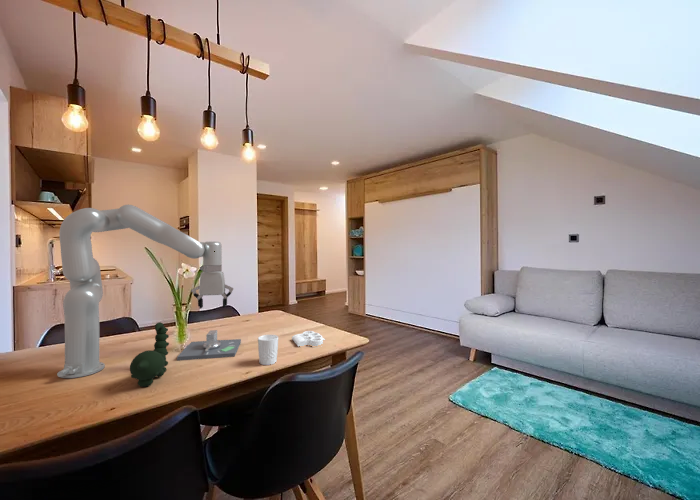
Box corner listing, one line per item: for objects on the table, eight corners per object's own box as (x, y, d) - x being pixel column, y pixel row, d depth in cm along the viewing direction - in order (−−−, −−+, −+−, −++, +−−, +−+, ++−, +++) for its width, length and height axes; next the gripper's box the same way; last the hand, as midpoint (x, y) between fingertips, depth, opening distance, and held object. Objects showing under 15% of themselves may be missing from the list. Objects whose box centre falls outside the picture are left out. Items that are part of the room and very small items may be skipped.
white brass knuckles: (290, 339, 153) (317, 336, 159) (299, 350, 136) (329, 346, 143) (290, 332, 153) (317, 329, 159) (299, 343, 136) (329, 339, 143)
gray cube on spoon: (221, 343, 138) (221, 329, 138) (215, 354, 125) (215, 338, 125) (205, 344, 137) (205, 330, 137) (197, 355, 124) (197, 339, 124)
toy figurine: (147, 371, 115) (120, 396, 92) (149, 321, 117) (122, 332, 93) (175, 368, 118) (155, 392, 94) (176, 319, 120) (157, 330, 96)
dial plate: (234, 356, 127) (234, 352, 127) (177, 360, 122) (177, 356, 122) (240, 342, 146) (240, 338, 146) (191, 344, 142) (191, 341, 142)
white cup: (282, 361, 123) (282, 336, 123) (267, 367, 116) (268, 341, 116) (268, 357, 127) (268, 333, 127) (253, 363, 120) (253, 338, 120)
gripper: (188, 270, 129) (189, 310, 129) (231, 269, 132) (232, 308, 133) (193, 268, 136) (194, 306, 136) (234, 268, 140) (234, 305, 140)
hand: (212, 307), depth 134 cm, fingers open, 9 cm apart
